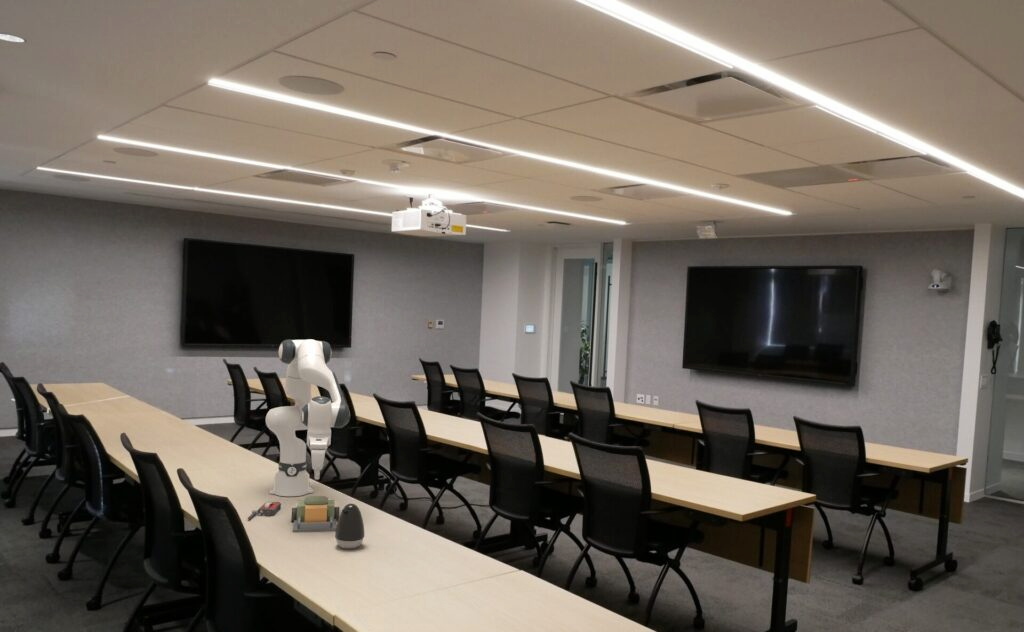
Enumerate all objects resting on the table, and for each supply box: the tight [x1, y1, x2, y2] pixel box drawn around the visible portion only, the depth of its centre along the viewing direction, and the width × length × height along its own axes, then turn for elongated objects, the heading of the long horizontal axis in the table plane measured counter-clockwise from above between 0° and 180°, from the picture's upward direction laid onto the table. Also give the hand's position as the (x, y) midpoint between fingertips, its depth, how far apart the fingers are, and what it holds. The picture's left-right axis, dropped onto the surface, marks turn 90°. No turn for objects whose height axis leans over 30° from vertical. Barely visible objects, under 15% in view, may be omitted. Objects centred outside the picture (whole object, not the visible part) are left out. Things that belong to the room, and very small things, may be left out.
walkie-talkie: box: [247, 500, 282, 520], centre depth 290 cm, size 9×4×20 cm
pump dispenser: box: [334, 503, 366, 550], centre depth 255 cm, size 10×10×15 cm
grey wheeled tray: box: [290, 495, 340, 533], centre depth 279 cm, size 19×18×9 cm
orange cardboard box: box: [305, 505, 328, 523], centre depth 275 cm, size 4×8×7 cm, turn 104°
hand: (317, 476), depth 276 cm, fingers open, 8 cm apart
